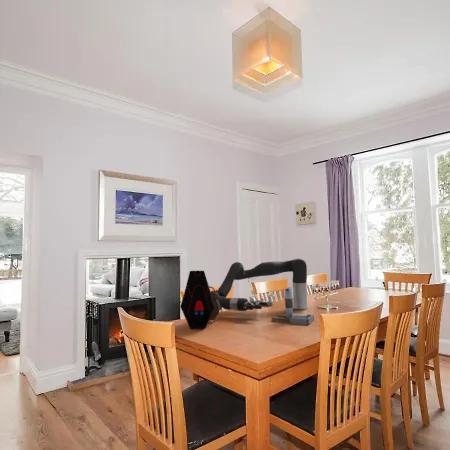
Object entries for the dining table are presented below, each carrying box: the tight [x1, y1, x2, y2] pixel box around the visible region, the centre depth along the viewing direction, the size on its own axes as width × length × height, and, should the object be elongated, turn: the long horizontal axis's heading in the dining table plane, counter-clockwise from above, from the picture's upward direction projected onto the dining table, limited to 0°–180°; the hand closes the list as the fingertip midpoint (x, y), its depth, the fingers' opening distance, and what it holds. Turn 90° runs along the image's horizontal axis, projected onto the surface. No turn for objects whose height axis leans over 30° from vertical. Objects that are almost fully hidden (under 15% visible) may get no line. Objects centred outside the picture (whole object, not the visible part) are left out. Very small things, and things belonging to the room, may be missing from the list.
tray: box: [289, 314, 315, 326], centre depth 188 cm, size 13×10×3 cm
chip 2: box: [299, 313, 308, 319], centre depth 187 cm, size 4×4×4 cm
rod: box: [284, 286, 294, 318], centre depth 191 cm, size 6×4×18 cm
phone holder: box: [249, 291, 276, 308], centre depth 246 cm, size 18×10×12 cm
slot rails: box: [271, 313, 290, 324], centre depth 192 cm, size 10×11×2 cm
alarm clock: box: [209, 285, 221, 323], centre depth 193 cm, size 15×7×20 cm, turn 81°
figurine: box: [180, 270, 215, 330], centre depth 180 cm, size 18×8×30 cm, turn 84°
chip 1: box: [292, 313, 301, 318], centre depth 189 cm, size 4×4×4 cm
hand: (264, 305), depth 196 cm, fingers open, 8 cm apart
